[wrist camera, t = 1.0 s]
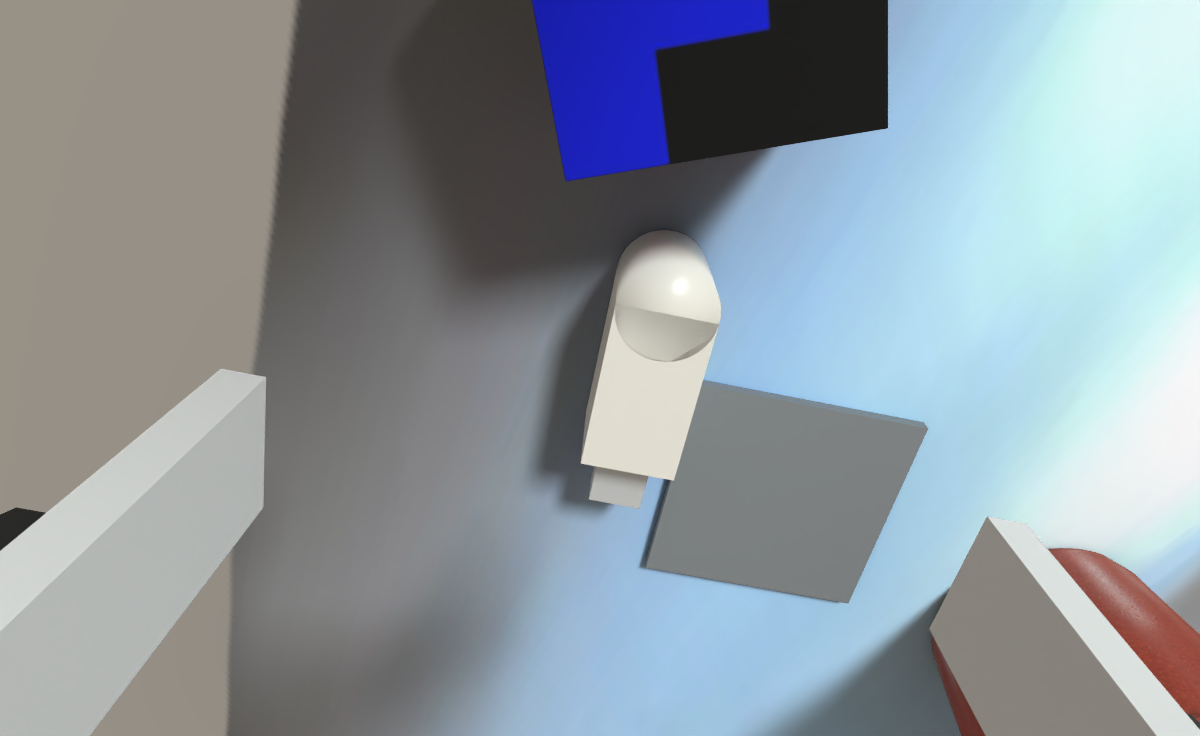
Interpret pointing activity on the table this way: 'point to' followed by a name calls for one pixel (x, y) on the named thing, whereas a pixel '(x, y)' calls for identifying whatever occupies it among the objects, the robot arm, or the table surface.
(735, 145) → the puzzle toy
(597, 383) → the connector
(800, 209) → the table surface
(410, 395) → the table surface
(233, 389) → the robot arm
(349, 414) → the table surface
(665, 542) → the coaster
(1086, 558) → the flower pot
